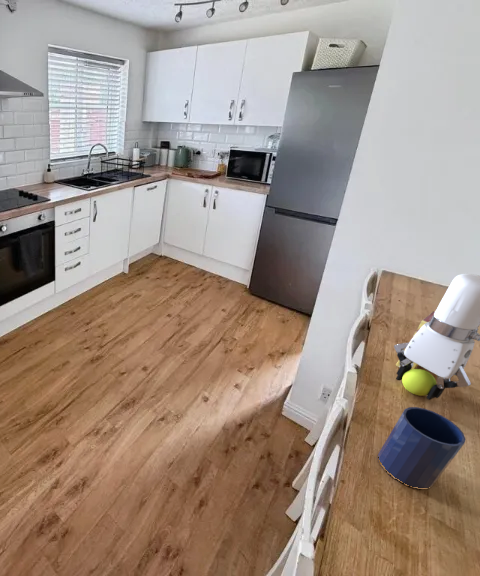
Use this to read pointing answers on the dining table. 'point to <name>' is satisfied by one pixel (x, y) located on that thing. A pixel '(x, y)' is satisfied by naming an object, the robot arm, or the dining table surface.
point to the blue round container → (420, 447)
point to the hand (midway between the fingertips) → (415, 387)
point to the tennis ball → (418, 381)
